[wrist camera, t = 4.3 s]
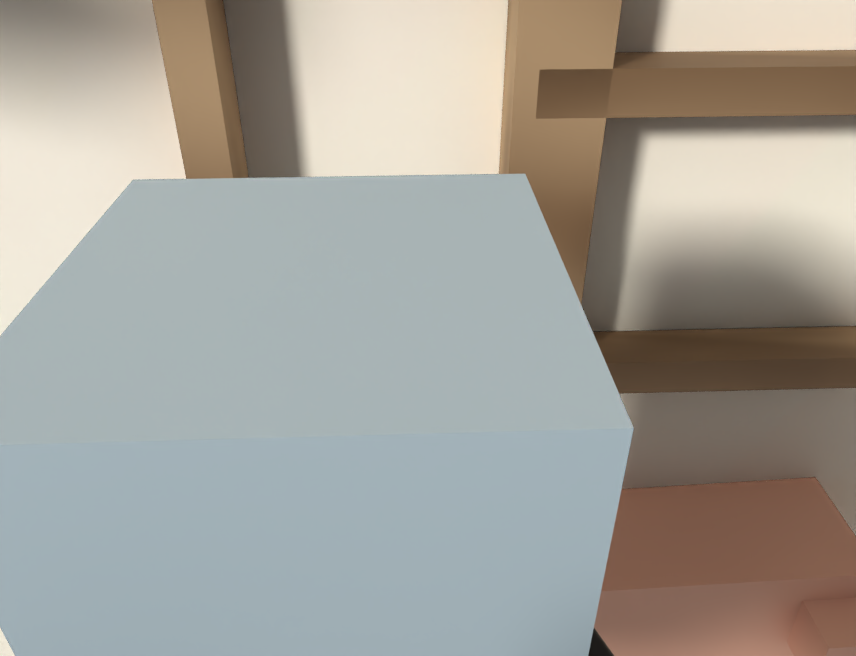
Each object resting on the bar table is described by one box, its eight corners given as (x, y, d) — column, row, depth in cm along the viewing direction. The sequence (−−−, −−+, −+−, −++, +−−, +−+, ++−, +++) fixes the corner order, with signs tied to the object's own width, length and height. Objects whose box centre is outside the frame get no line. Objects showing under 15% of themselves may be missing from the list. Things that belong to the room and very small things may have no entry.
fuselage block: (785, 554, 26) (870, 704, 21) (507, 570, 26) (532, 725, 21) (812, 472, 23) (914, 621, 19) (509, 491, 23) (536, 644, 19)
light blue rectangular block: (485, 709, 13) (517, 1009, 9) (260, 718, 13) (211, 1025, 9) (524, 173, 7) (632, 427, 4) (132, 180, 7) (-97, 447, 4)
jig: (942, 438, 23) (974, 472, 21) (255, 456, 22) (247, 492, 21) (1231, -125, 14) (1312, -125, 13) (152, -123, 14) (128, -122, 12)
